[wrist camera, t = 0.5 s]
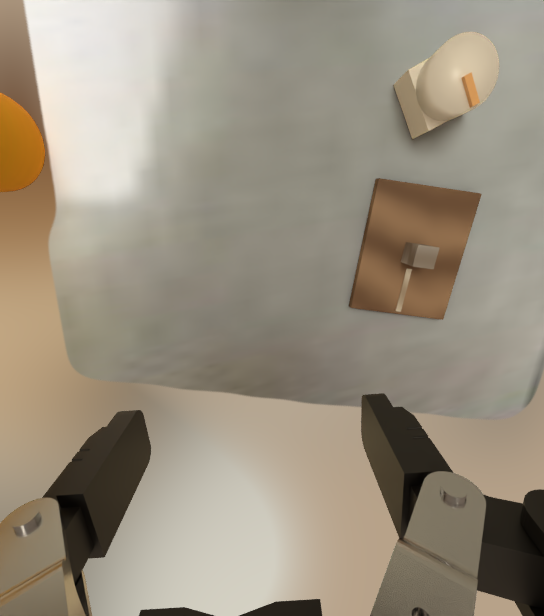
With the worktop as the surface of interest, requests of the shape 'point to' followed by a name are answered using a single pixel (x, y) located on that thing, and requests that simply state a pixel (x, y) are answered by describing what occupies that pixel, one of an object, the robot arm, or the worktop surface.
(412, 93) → the knob
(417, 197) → the plate
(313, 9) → the worktop surface
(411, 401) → the worktop surface
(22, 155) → the beer bottle
